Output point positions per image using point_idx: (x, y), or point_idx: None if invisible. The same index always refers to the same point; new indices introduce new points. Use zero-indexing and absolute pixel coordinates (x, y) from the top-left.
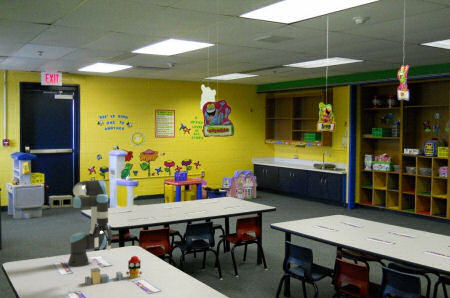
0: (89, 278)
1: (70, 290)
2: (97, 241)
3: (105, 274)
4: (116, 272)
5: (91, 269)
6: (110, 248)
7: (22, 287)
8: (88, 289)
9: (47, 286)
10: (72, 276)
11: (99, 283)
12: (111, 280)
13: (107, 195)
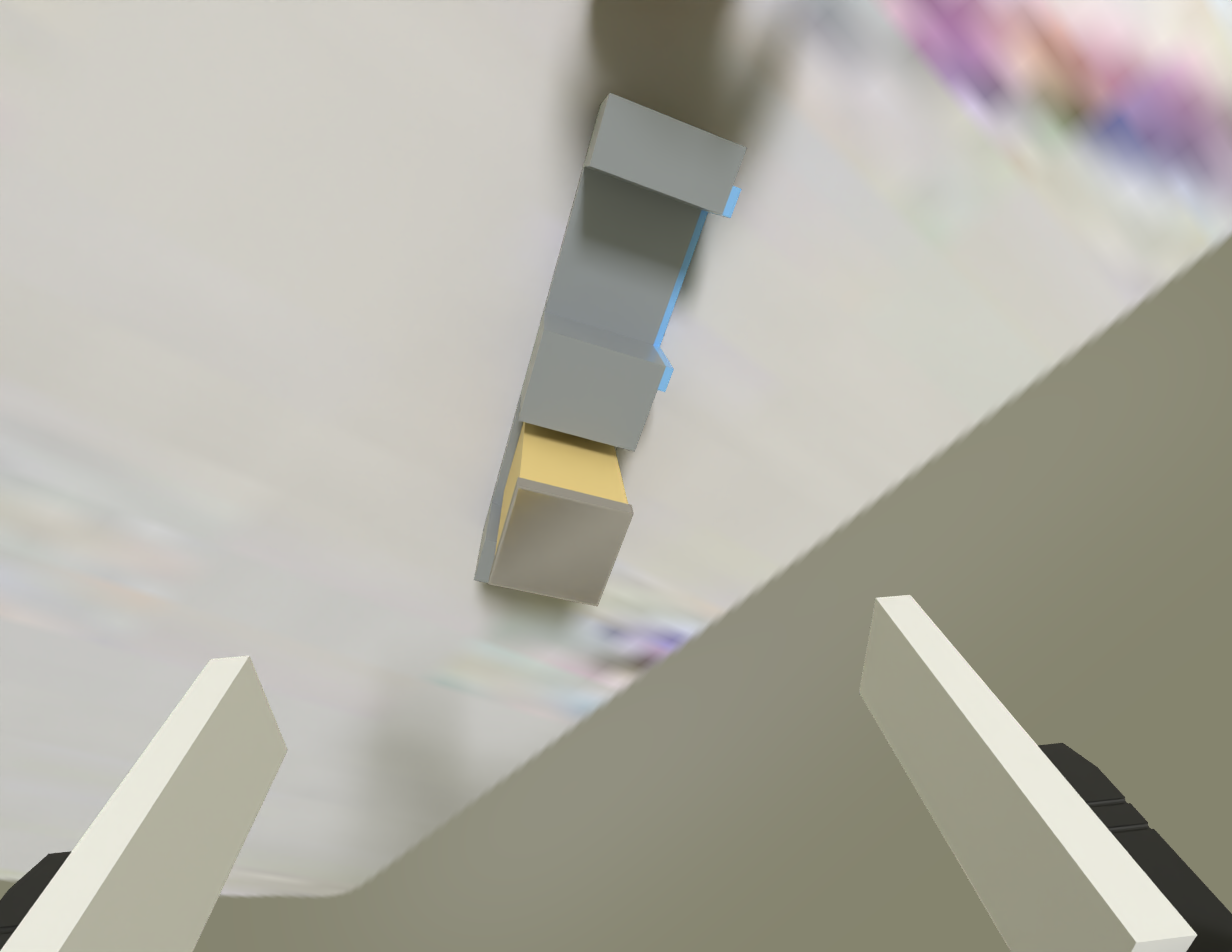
0: None
1: (541, 675)
2: (149, 875)
3: (569, 357)
4: (603, 170)
5: (522, 586)
6: (934, 635)
7: None
8: (638, 568)
9: (299, 756)
10: (90, 498)
11: (616, 447)
12: (632, 287)
13: None
